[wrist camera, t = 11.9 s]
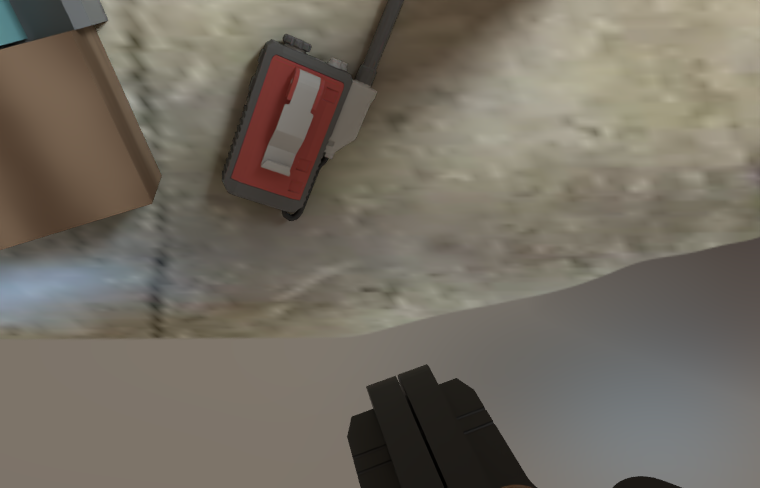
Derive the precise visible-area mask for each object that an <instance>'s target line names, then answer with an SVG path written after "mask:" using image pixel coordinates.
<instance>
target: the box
mask: <svg viewBox="0 0 760 488" xmlns="http://www.w3.org/2000/svg"><path fill="white" fill-rule="evenodd" d="M9 2H10V4H11V6H12V8H13V10H14V12H15V14H16V16H17V18H18V20H19V22H20V24H21V26H22V28H23V30H24V32H25V34H26V36H27V39H23V40H20V41H16V42H12V43H8V44H4V45H0V49H3V48H7V47H10V46H14V45H18V44H22V43H25V42H29V41H33V40H37V39H41V38H44V37H48V36H52V35H56V34H59V33H63V32H67V31H71V30H76V29H80V28H84V27H87V26H91V25H95V24H98V23H101V22H105V21H108V19H107V16H106V14H105V12H104V9H103V7H102V5H101V3H100V0H9Z"/></svg>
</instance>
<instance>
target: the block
mask: <svg viewBox="0 0 760 488" xmlns="http://www.w3.org/2000/svg"><path fill="white" fill-rule="evenodd" d="M23 39H27V36H26V34H25V32H24V30H23V28H22V26H21V24H20V22H19V20H18V18H17V16H16V14H15V12H14V10H13V8H12V6H11V4H10V2H9V0H0V45H4V44H8V43H12V42H16V41H20V40H23Z"/></svg>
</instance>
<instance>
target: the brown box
mask: <svg viewBox="0 0 760 488" xmlns="http://www.w3.org/2000/svg"><path fill="white" fill-rule="evenodd" d="M160 179H161V173H160V171H159V169H158V167H157V164H156V162H155V160H154V158H153V156H152V153H151V151H150V149H149V147H148V145H147V142H146V140H145V138H144V136H143V133H142V131H141V129H140V127H139V125H138V122H137V120H136V118H135V116H134V114H133V111H132V109H131V107H130V105H129V102H128V100H127V98H126V96H125V94H124V91H123V89H122V87H121V85H120V83H119V80H118V78H117V76H116V74H115V71H114V69H113V67H112V65H111V63H110V60H109V58H108V56H107V54H106V52H105V49H104V47H103V45H102V43H101V40H100V38H99V36H98V34H97V32H96V29H95V27H94V25H91V26H87V27H84V28H80V29H76V30H71V31H67V32H63V33H59V34H56V35H52V36H48V37H44V38H41V39H37V40H33V41H29V42H25V43H22V44H18V45H14V46H10V47H7V48H3V49H0V250H2V249H5V248H9V247H12V246H15V245H19V244H22V243H25V242H28V241H32V240H35V239H38V238H41V237H45V236H48V235H51V234H54V233H58V232H61V231H64V230H67V229H71V228H74V227H77V226H81V225H84V224H87V223H90V222H94V221H97V220H100V219H103V218H107V217H110V216H113V215H116V214H120V213H123V212H126V211H130V210H133V209H136V208H139V207H143V206H146V205H149V204H152V202H153V200H154V197H155V194H156V191H157V188H158V185H159V182H160Z"/></svg>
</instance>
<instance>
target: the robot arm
mask: <svg viewBox="0 0 760 488" xmlns="http://www.w3.org/2000/svg"><path fill="white" fill-rule="evenodd" d="M398 379H399V382H398V380H397V378H396V376H394V377H391V378H388V379H386V380H383V381H380V382H377V383H374V384H372V385H369V386H367V387H366V388H367V391H368V394H369V397H370V400H371V403H372V406H373V409H371V410H369V411H366V412H363V413H361V414H358V415H355V416H352V418H351V422H350V427H349V431H348V436H347V438H348V442H349V445H350V449H351V453H352V457H353V460H354V464H355V468H356V471H357V475H358V479H359V483H360V486H361V488H537V487H536V486H534V484H532V482H531V481H530V480H529V479H528V477H527V476H526V474H525V473H524V471H523V470H522V468H521V466H520V465H519V463H518V461H517V460H516V458H515V457H514V455H513V453H512V452H511V450H510V448H509V447H508V445H507V443H506V442H505V440H504V438H503V437H502V435H501V434H500V432H499V430H498V428H497V427H496V425H495V424H494V423H493V420H492V419H491V417H490V415H489V414H488V412H487V410H485V408H484V406H483V404H482V402H481V401H480V399H479V397H478V396H477V394H476V392H475V391H474V390H473V389H472V388H470V387H469V386H468V385H466V384H464V383H463V382H461V381H460V380H459V379H457V378H455V379H453V380H450V381H447V382H444V383H442V384H439V385H438V383H437V381H436V379H435V377H434V376H433V374H432V372H431V370H430V368H429V366H428V365H427V364H426V365H424V366H421V367H418V368H415V369H413V370H410V371H407V372H405V373H402V374H399V375H398ZM399 383H400V384H399ZM613 488H681V487H679V486H676V485H673V484H671V483H668V482H665V481H663V480H659V479H656V478H651V477H643V476H638V477H631V478H627V479H624V480H622V481H620V482H619V483H617V484H616V485H615V486H614V487H613Z"/></svg>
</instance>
